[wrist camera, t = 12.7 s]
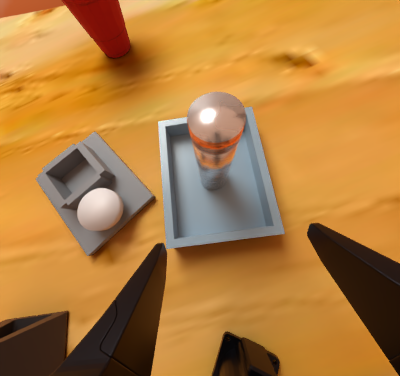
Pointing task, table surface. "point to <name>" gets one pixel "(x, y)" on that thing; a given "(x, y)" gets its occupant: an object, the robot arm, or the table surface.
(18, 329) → the phone stand
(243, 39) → the table surface
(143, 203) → the plate
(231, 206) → the tray
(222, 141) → the salt shaker
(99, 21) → the plastic cup
